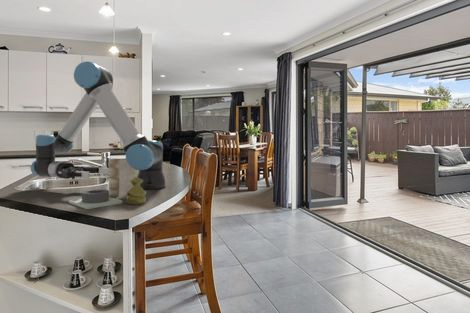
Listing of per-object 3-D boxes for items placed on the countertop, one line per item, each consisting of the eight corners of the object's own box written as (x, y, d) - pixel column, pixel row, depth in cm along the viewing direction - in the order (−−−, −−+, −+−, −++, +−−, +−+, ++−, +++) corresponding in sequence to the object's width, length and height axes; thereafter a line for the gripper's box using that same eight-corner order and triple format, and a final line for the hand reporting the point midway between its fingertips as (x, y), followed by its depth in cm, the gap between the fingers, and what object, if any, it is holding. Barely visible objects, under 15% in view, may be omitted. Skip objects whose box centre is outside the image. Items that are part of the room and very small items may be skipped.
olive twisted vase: (140, 199, 131) (140, 175, 131) (149, 203, 126) (149, 178, 125) (123, 202, 126) (123, 177, 125) (131, 205, 121) (132, 179, 120)
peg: (115, 194, 140) (115, 158, 138) (121, 196, 137) (121, 159, 136) (106, 196, 136) (106, 158, 135) (112, 197, 134) (112, 159, 132)
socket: (103, 197, 133) (103, 187, 132) (122, 203, 124) (122, 191, 124) (68, 203, 122) (68, 191, 121) (86, 209, 113) (86, 196, 113)
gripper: (83, 174, 156) (119, 178, 150) (37, 182, 133) (78, 186, 126) (83, 159, 156) (119, 162, 149) (37, 164, 132) (77, 167, 126)
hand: (100, 173), depth 138 cm, fingers open, 13 cm apart
